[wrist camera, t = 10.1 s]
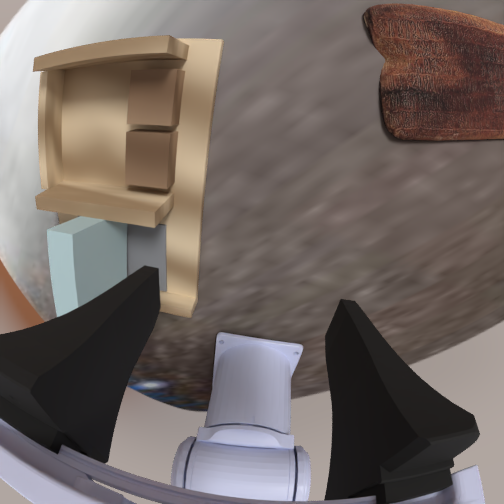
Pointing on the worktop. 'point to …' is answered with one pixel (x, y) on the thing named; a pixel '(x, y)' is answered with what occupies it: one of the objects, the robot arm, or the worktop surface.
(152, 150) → the offcut
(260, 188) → the worktop surface
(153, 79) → the offcut
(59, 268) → the panel
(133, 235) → the felt pad
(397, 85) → the wooden tablet
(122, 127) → the rack
